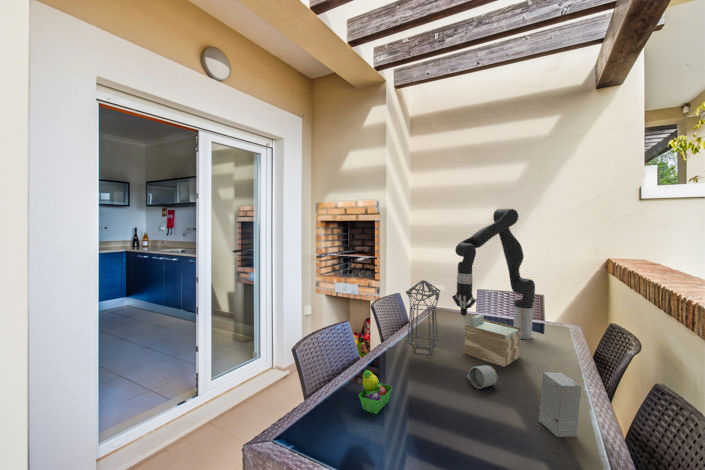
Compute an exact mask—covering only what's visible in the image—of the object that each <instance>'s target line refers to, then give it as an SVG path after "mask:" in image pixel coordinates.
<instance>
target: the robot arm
mask: <svg viewBox="0 0 705 470" xmlns="http://www.w3.org/2000/svg"><path fill="white" fill-rule="evenodd" d="M492 217H493V221H494V222H493V223H491V224H489V225H486V226H485V227H483V228H481V229H479V230H478V231H476V232H475V233H474V234H472V235H471V236H470V237H468V238H466V239H465V240H464V239H463V240H461V242H459V243H458V244H457V245H456V247H455V250H454V251H455V254H456V255H458V256H459V257H462V261H459V262H457V263H458V264H457V276H456V292H455V293H456V294H454V295H452V299H453V302H455V304H456V306H457V307H459V308H460V315H461V316H462V317H465V316H467V315H468V309H470V308H472V307H473V305H475V303H476V302H477V301H478V300H477V298H474V297H473V280H474V279H473V265H474V262H475V260H476V259H475V258H476V254H477V249H479V248H481V247H483V246H484V245H485V244H486V243H488V242H489V241H490V240H491V239H492V238H493V237H495V236H497V235H499V239H500V243H501V246H502V250H503V254H504V258H505V260H506V261H505V262H506V264H507V265H506V266H507V270H508V275H509V276H508V277H509V282H510V287H511V290H512V292H513V293H514V294H517V295H522V298H521V299H515V300H514V302H513V326H515V327H519V328H521V330H520V340H531V339H533V311H534V310H533V306H534V301H535V293H536V283H535V282H534V280H533V279H530V278H526V277H525V278H524V277H521V273H520V267H521V265H522V263H523V261H524V252H523V247H522V245H521V243H520V242H519V240H518V239H517V238H516V236H515V235H514V234H513V233H512V231H511V229H510V227H513V225H515V224H516V223H518V220H519V213H518V211H517V210H515V208H497V209H496V210H495V211H494V212H493V216H492Z"/></svg>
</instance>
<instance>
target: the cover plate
mask: <svg viewBox="0 0 705 470" xmlns="http://www.w3.org/2000/svg"><path fill="white" fill-rule="evenodd" d="M484 319H485V317H484V314H477V315H474V316H472V317H470V318H469V326H472V327H476V328H480V329H484V330H488V331H491V332H495V333H499V334H503V335H506V338H508V337H510V336H512V335H514V334H516V333H518V332H519V330H518V329H514V328H510V327H506V326H502V325H497V324H493V323H489V322H485V321H484ZM506 338H505V339H506Z"/></svg>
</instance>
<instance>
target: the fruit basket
mask: <svg viewBox="0 0 705 470" xmlns="http://www.w3.org/2000/svg"><path fill="white" fill-rule="evenodd" d="M362 386H363V388H364V389H363V390H362V391H361V392H359V394H358V397H359V400H360V402H361V403H360V404H361V406H362V407H361V408H362V410H363V411H366V412H368V413H373V414H375V415H377V414H378V413H379V412H380V411H381V410H382V409H383V408H384V407H385V406H386V404H387V403H389V400H390V397H391V396H390V395H391V393H392V390H393V386H391V385H387V384H385V383H381V382H379V379H378V377H377V376H376V375H375V374H374V373H373V372H372V371H370V370H367V369H366V370H364V372H363V374H362Z"/></svg>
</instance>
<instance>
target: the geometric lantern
mask: <svg viewBox="0 0 705 470" xmlns="http://www.w3.org/2000/svg"><path fill="white" fill-rule="evenodd" d="M418 286H419V287H418ZM417 287H418V288H417ZM425 287H426V288H427V290H425ZM413 290H414V291H416V292H413ZM440 292H441V289H439V288H437V287H436V286H434V285H433V284H431V283H429V282H428V281H427V280H424V279H422V280H420V281H419V282H417V283H416V284H415V285H414V286H412V287H411V288H409V289H407V290H406V291H405V294H406V295H407V297H408V299H409V319H408V329H407V330H408V331H407V341H406V342H407V344H408V345H410V346H411V348H413V353H414V354H418V355H419V354H420V355H426V356H430V355H432V352H433V349H434V348H435V347H436V345H437V344H438V341H439V339H438V338H439V337H438V326H437V325H438V324H437V305H438V302H439V299H440ZM427 293H429V294H427ZM414 295H415V296H416V297H415V296H414ZM418 295H420V296H421V297H420V299H419V298H418ZM434 296H435V299H434V300H433V302H432V301H431V297H434ZM424 297H425V298H424ZM414 299H415V301H414ZM427 299H429V302H430V304H431V305H430V304H427V303H426V300H427ZM421 301H422V302H424V306H426V308H427V309H423V308H419V306H423V304H421V303H420V302H421ZM416 302H417V303H416ZM412 303H413V304H412ZM434 304H435V305H434ZM415 307H416V308H415ZM430 307H431V308H430ZM415 310H416V318H415ZM419 311H427V312H428V318H427V319H428V337H424V336H423V337H422V336H418V320H419V318H418V317H419ZM430 312H431V319H430ZM415 319H416V320H415ZM430 320H432V321H431V322H432V337H431V322H430ZM415 321H416V325H415V336H413V335H414V322H415ZM435 334H436V335H435ZM435 336H436V338H435ZM417 338H418V339H425V340H428V343H422V344H421V343H418V339H417ZM431 340H432V341H431ZM432 343H433V344H432ZM417 350H421V351H428V353H424V352H423V353H422V352H417Z"/></svg>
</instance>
